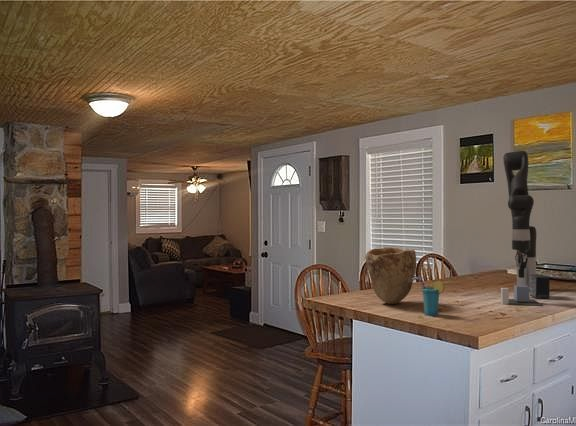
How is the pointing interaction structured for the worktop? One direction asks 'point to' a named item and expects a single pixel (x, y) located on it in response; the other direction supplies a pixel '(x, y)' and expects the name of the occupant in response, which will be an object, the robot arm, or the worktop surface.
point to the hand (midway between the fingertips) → (521, 277)
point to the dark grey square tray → (524, 303)
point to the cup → (431, 297)
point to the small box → (539, 286)
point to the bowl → (391, 272)
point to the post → (504, 296)
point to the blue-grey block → (521, 293)
